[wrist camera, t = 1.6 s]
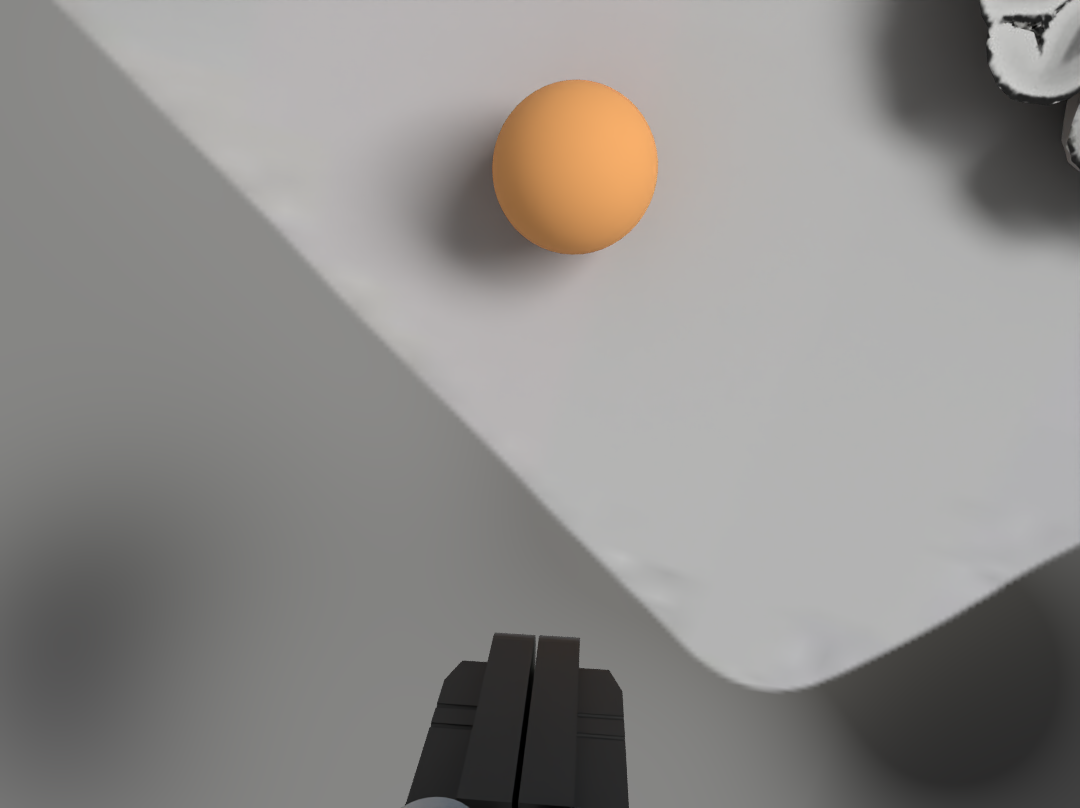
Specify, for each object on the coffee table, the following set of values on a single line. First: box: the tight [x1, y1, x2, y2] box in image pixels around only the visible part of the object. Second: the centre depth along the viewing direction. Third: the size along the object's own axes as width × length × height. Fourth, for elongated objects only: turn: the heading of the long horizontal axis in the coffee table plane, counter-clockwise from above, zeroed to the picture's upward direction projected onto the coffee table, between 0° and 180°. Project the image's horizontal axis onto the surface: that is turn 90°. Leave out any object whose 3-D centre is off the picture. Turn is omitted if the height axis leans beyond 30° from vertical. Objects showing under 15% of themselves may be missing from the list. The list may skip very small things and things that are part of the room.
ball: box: [492, 80, 658, 254], centre depth 23 cm, size 6×6×6 cm
